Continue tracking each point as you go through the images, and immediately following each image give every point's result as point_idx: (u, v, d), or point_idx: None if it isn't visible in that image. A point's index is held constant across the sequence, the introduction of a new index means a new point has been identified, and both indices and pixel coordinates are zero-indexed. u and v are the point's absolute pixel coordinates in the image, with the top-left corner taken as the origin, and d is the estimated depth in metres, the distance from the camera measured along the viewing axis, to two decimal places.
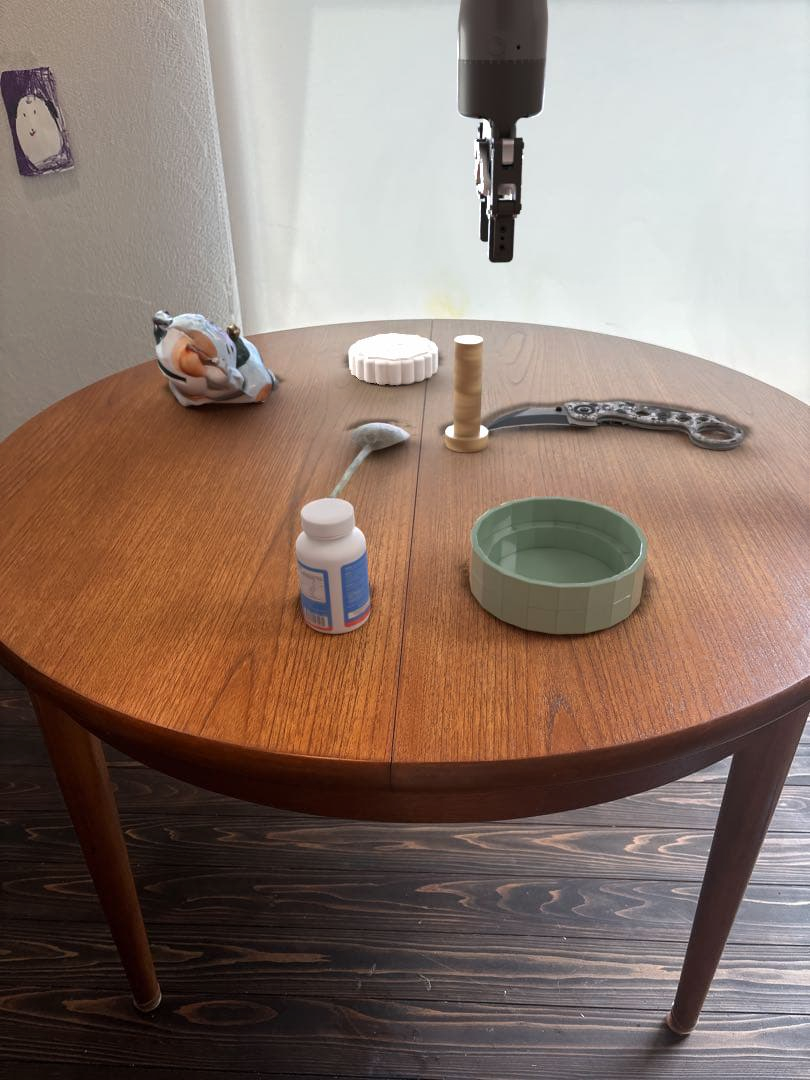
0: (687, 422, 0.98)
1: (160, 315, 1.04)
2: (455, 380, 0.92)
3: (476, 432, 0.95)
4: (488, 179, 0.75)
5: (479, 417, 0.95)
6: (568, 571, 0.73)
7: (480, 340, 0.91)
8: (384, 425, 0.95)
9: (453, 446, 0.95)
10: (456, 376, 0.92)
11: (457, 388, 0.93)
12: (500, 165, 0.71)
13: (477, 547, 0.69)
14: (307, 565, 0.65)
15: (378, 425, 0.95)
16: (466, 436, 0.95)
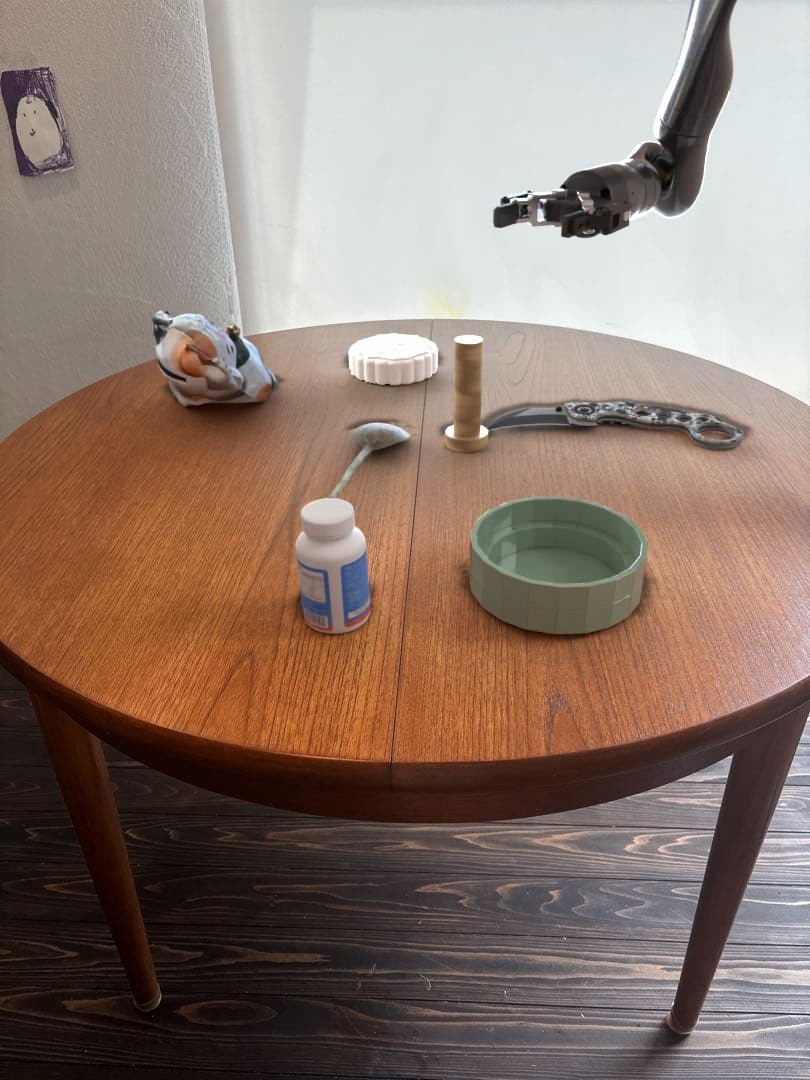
0: (687, 422, 0.98)
1: (160, 315, 1.04)
2: (455, 380, 0.92)
3: (476, 432, 0.95)
4: None
5: (479, 417, 0.95)
6: (568, 571, 0.73)
7: (480, 340, 0.91)
8: (384, 425, 0.95)
9: (453, 446, 0.95)
10: (456, 376, 0.92)
11: (457, 388, 0.93)
12: None
13: (477, 547, 0.69)
14: (307, 565, 0.65)
15: (378, 425, 0.95)
16: (466, 436, 0.95)
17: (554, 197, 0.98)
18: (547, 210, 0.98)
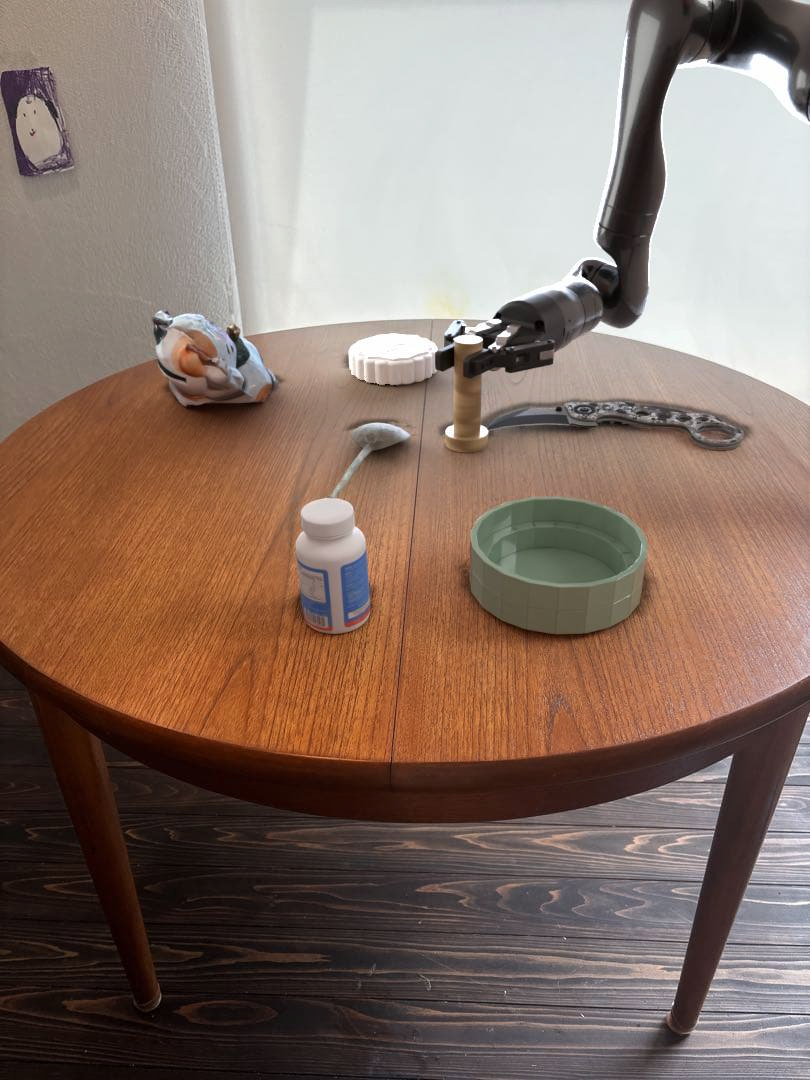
0: (687, 422, 0.98)
1: (160, 315, 1.04)
2: (455, 380, 0.92)
3: (476, 432, 0.95)
4: None
5: (479, 417, 0.95)
6: (568, 571, 0.73)
7: (480, 340, 0.91)
8: (384, 425, 0.95)
9: (453, 446, 0.95)
10: (455, 376, 0.92)
11: (457, 388, 0.93)
12: None
13: (477, 547, 0.69)
14: (307, 565, 0.65)
15: (378, 425, 0.95)
16: (466, 436, 0.95)
17: (492, 330, 0.95)
18: None
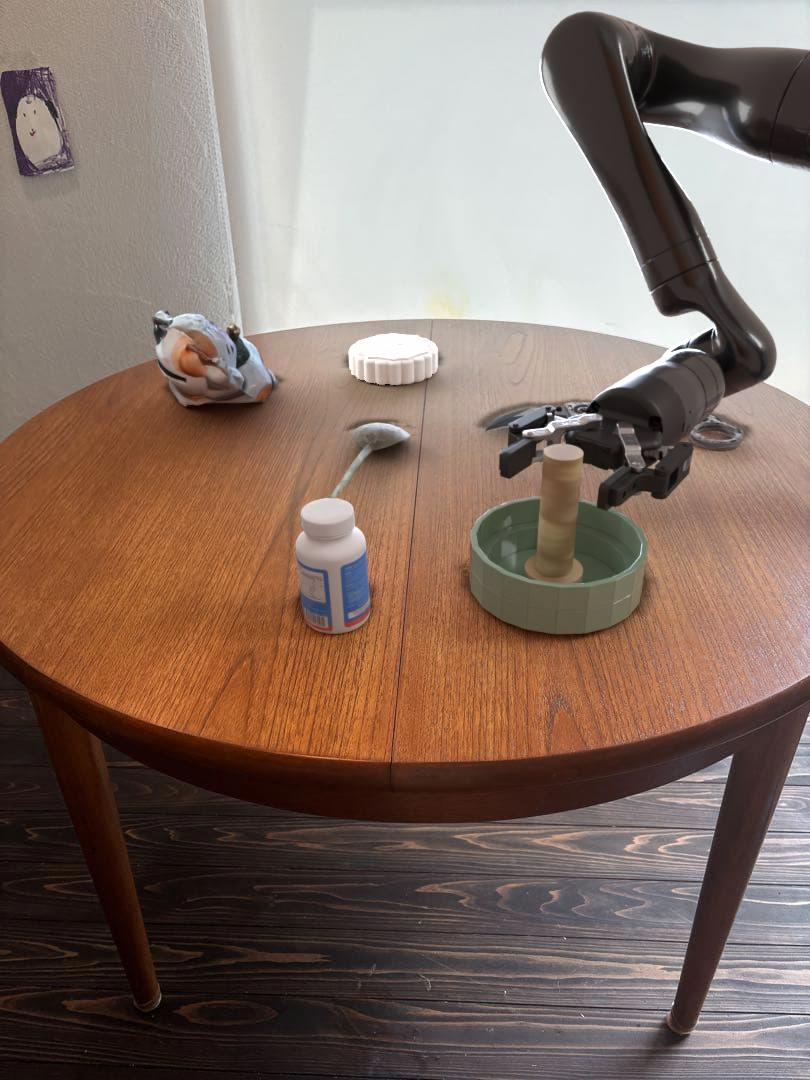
0: None
1: (160, 315, 1.04)
2: (544, 505, 0.67)
3: (568, 571, 0.70)
4: None
5: (573, 551, 0.70)
6: None
7: (580, 453, 0.66)
8: (384, 425, 0.95)
9: None
10: (544, 500, 0.67)
11: (545, 516, 0.68)
12: None
13: (477, 547, 0.69)
14: (307, 565, 0.65)
15: (378, 425, 0.95)
16: (555, 577, 0.70)
17: (584, 428, 0.71)
18: None
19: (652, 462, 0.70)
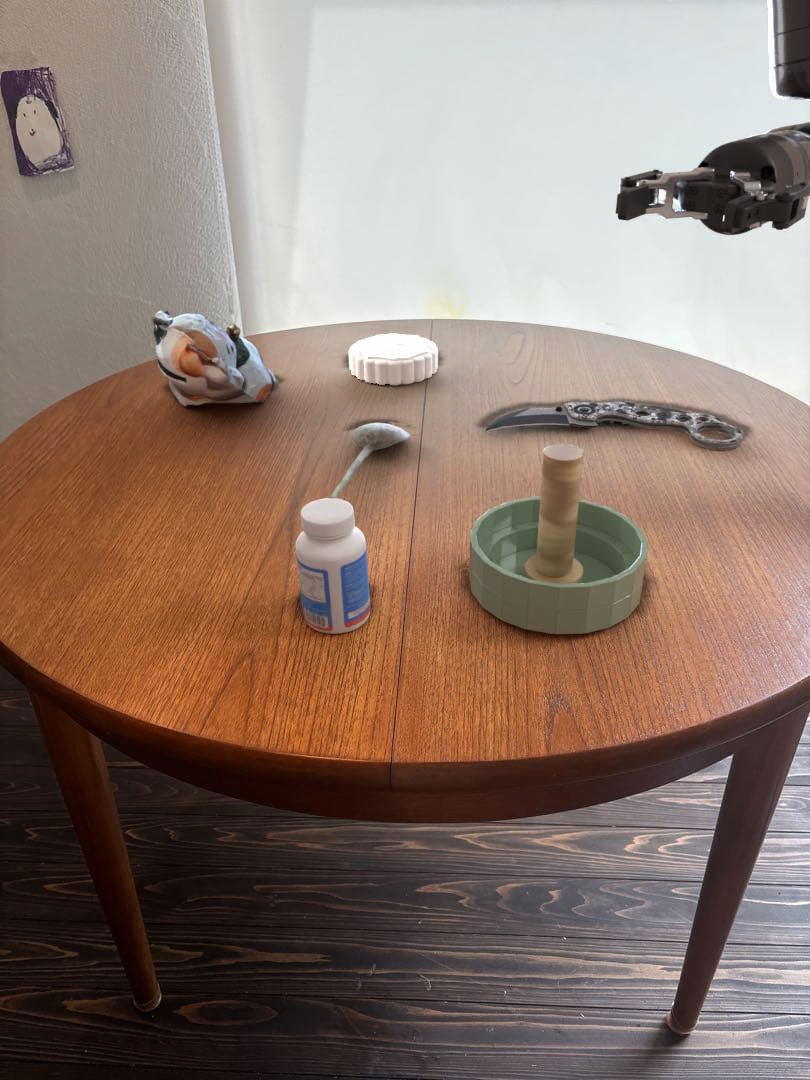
0: (687, 422, 0.98)
1: (160, 315, 1.04)
2: (544, 505, 0.67)
3: (568, 571, 0.70)
4: None
5: (573, 551, 0.70)
6: None
7: (580, 453, 0.66)
8: (384, 425, 0.95)
9: None
10: (544, 500, 0.67)
11: (545, 516, 0.68)
12: None
13: (477, 547, 0.69)
14: (307, 565, 0.65)
15: (378, 425, 0.95)
16: (555, 577, 0.70)
17: (697, 178, 0.71)
18: (687, 197, 0.71)
19: None
